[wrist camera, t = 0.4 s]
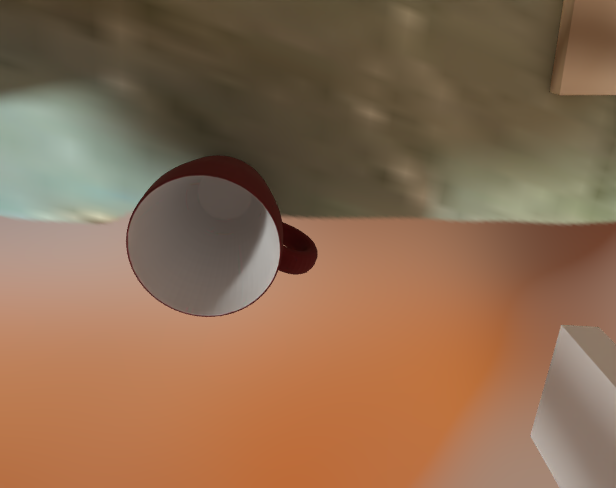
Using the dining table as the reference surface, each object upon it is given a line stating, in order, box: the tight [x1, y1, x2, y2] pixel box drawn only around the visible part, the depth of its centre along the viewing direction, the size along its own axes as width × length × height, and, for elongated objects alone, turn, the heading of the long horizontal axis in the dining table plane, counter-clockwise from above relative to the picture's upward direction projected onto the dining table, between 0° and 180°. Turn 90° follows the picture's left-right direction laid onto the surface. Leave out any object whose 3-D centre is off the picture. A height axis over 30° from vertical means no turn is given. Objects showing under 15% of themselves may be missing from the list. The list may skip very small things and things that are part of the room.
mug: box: [126, 155, 317, 317], centre depth 34 cm, size 10×8×10 cm
